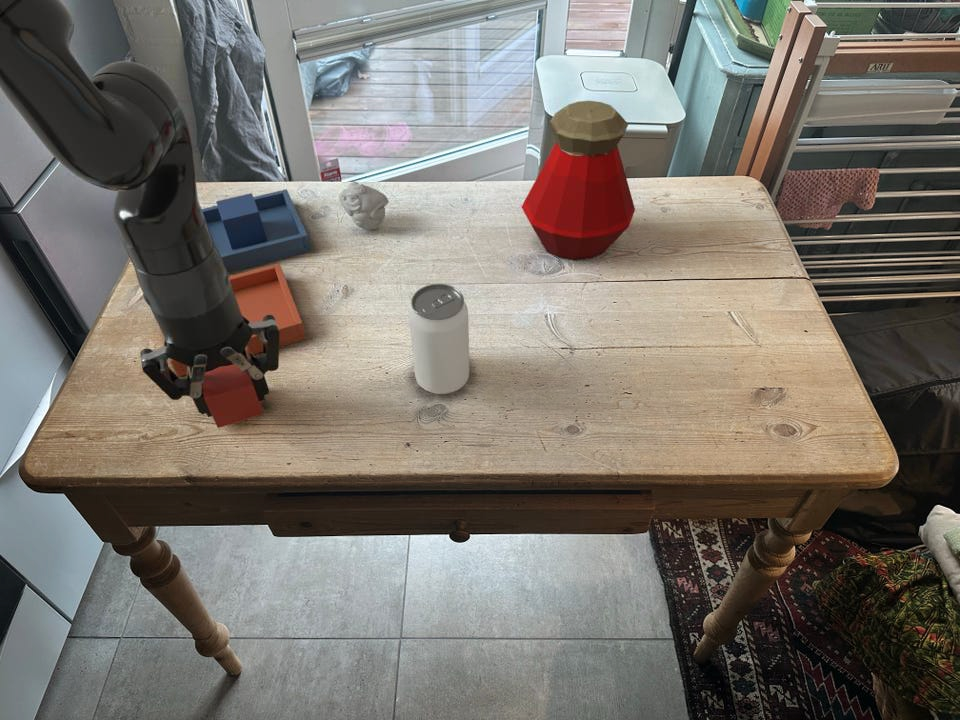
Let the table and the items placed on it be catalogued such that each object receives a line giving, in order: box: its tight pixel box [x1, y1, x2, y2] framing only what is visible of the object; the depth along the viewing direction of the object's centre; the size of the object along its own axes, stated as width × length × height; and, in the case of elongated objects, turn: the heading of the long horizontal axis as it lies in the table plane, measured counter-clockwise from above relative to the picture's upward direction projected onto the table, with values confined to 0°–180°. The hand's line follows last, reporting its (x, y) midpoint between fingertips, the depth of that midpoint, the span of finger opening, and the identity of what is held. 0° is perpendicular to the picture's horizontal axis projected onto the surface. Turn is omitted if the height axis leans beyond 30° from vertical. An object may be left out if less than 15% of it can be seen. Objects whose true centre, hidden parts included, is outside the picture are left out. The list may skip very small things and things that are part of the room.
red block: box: [202, 364, 264, 429], centre depth 75 cm, size 5×5×5 cm
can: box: [408, 283, 470, 395], centre depth 76 cm, size 6×6×12 cm
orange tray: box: [169, 262, 307, 378], centre depth 85 cm, size 16×13×3 cm
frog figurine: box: [338, 181, 389, 231], centre depth 98 cm, size 6×7×7 cm
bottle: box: [521, 100, 636, 261], centre depth 91 cm, size 16×14×20 cm
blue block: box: [215, 193, 267, 249], centre depth 96 cm, size 5×5×5 cm
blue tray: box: [201, 188, 312, 274], centre depth 97 cm, size 16×13×3 cm
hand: (235, 402), depth 76 cm, fingers closed on red block, 5 cm apart
